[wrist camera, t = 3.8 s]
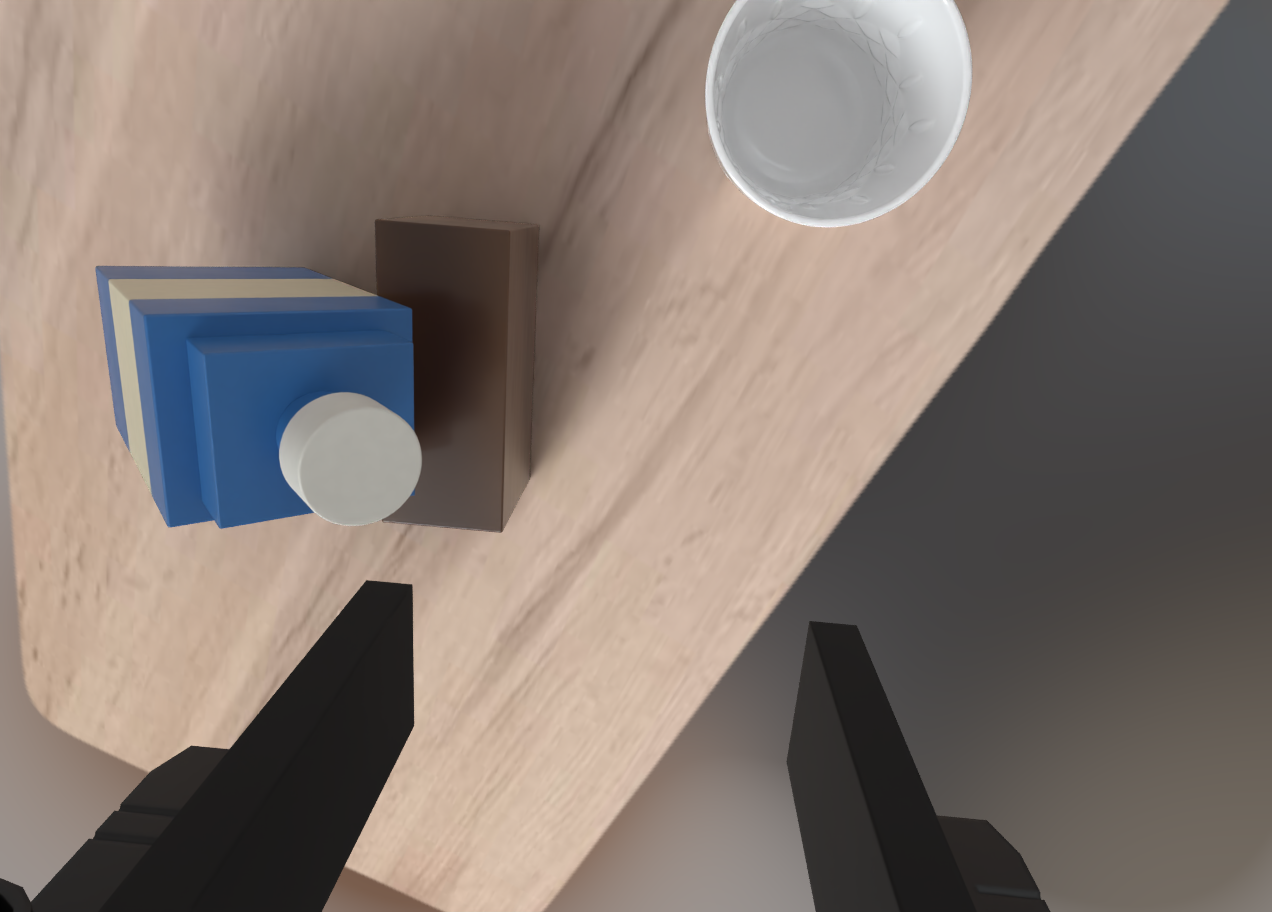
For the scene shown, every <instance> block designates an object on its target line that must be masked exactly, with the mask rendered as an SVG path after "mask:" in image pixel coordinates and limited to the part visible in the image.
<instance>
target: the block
mask: <svg viewBox="0 0 1272 912" xmlns="http://www.w3.org/2000/svg"><path fill="white" fill-rule="evenodd" d="M375 242H376V282H377V296H380V297H383V298H385V299H388V300H391V301H393V302H396V303H398V304H401V305H404V306H406V307H409V308H411V309H412V343H413V365H414V432H415V434H416V436H417V438H418V441H419V443H420V447H421V453H422V467H421V472H420V476H419V479H418V482H417V484H416V487H415V495H414V496H410V497H409V498H408V499H407V500H406V502H405V503H404V504H403V505H402V506H401V507H400V508H399V509H397V510H396V511H395V512H394V513H392V514H391V515H389V516H388V517H386V518H384V519H382V521H383V522H389V523H400V524H411V525H422V526H434V527H445V528H456V529H467V530H478V531H489V532H500V533H501V532H502V531H503V530H504V528H505V526H506V524H507V522H508V520H509V518H510V516H511V514H512V512H513V510H514V508H515V507H516V505H517V503H518V501H519V499H520V497H521V495H522V493H523V491H524V489H525V487H526V485H527V484H528V482H529V480H530V460H531V433H532V406H533V379H534V352H535V325H536V298H537V271H538V244H539V225H538V224H527V223H515V222H502V221H490V220H478V219H465V218H453V217H441V216H429V215H428V216H415V217H401V218H388V219H377V220H375Z"/></svg>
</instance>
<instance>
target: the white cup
mask: <svg viewBox="0 0 1272 912" xmlns="http://www.w3.org/2000/svg"><path fill="white" fill-rule="evenodd" d="M971 86H972V57H971V48H970V43H969V38H968V34H967V30H966V27H965V24H964V21H963V18H962V16H961V14H960V11H959V9H958V7H957V5H956V3H955V1H954V0H736V2H735V3H734V4H733V6H732V7H731V9H730V11H729V12H728V14H727V16H726V17H725V19H724V21H723V23H722V25H721V27H720V29H719V32H718V34H717V37H716V39H715V42H714V45H713V48H712V51H711V55H710V59H709V63H708V69H707V75H706V86H705V104H706V119H707V128H708V134H709V138H710V142H711V145H712V148H713V151H714V154H715V156H716V158H717V161H718V163H719V165H720V166H721V168H722V170H723V171H724V173H725V175H726V176H727V178H728V179H729V180H730V181H731V182H732V184H733V185H734V186H735V187H736V188H737V189H738V190H739V191H740V192H741V193H742V194H744V195H745V196H746V197H747V198H749V199H750V200H751V201H753V202H754V203H756V204H757V205H759V206H760V207H762V208H763V209H765V210H767V211H768V212H770V213H772V214H774V215H776V216H778V217H780V218H782V219H785V220H788V221H791V222H794V223H797V224H802V225H807V226H814V227H842V226H849V225H854V224H858V223H862V222H865V221H868V220H871V219H874V218H877V217H879V216H881V215H883V214H885V213H887V212H889V211H891V210H893V209H895V208H896V207H898V206H900V205H901V204H903V203H904V202H906V201H907V200H908V199H910V198H911V197H912V196H913V195H915V194H916V193H917V192H918V191H919V190H920V189H921V188H922V187H924V186H925V185H926V184H927V182H928V181H929V180H930V179H931V178H932V177H933V176H934V175H935V173H936V172H937V171H938V170H939V168H940V167H941V166H942V164H943V163H944V161H945V160H946V158H947V157H948V155H949V153H950V152H951V150H952V148H953V146H954V144H955V142H956V140H957V138H958V136H959V133H960V131H961V128H962V126H963V123H964V120H965V117H966V113H967V109H968V105H969V100H970V94H971Z"/></svg>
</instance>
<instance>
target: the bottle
mask: <svg viewBox="0 0 1272 912" xmlns="http://www.w3.org/2000/svg"><path fill="white" fill-rule="evenodd" d="M95 269H96V276H97V284H98V291H99V299H100V307H101V314H102V322H103V329H104V337H105V345H106V352H107V360H108V367H109V375H110V383H111V390H112V398H113V405H114V413H115V421H116V426H117V428H118V430H119V432H120V434H121V436H122V438H123V440H124V442H125V444H126V446H127V447H128V449H129V451H130V453H131V455H132V457H133V459H134V461H135V463H136V465H137V467H138V469H139V471H140V473H141V475H142V477H143V479H144V481H145V483H146V485H147V487H148V489H149V491H150V493H151V494H152V497H153V499H154V501H155V503H156V504H157V506H158V508H159V510H160V512H161V514H162V516H163V518H164V520H165V522H166V524H167V526H168V527H176V526H182V525H188V524H194V523H200V522H206V521H212V520H215V522H216V523H217V525H218V527H219V528H221V529H222V528H228V527H234V526H239V525H245V524H251V523H257V522H263V521H268V520H274V519H280V518H286V517H292V516H297V515H303V514H309V513H316V514H317V515H318V516H320V517H321V518H323V519H325V520H327V521H329V522H332V523H335V524H338V525H344V526H361V525H367V524H371V523H374V522H377V521H379V520H382V519H384V518H386V517H388V516H389V515H391V514H392V513H394V512H395V511H396V510H397V509H399V508H400V507H401V506H402V505H403V504H404V503H405V502H406V500H407V499H408V498H409V497H410V496H414V495H415V487H416V484H417V482H418V479H419V476H420V472H421V467H422V453H421V447H420V443H419V441H418V438H417V436H416V434H415V432H414V365H413V343H412V309H411V308H409V307H406V306H404V305H401V304H398V303H396V302H393V301H391V300H388V299H385V298H383V297H380V296H377V295H375V294H372V293H370V292H367V291H364V290H362V289H359V288H356V287H354V286H351V285H349V284H346V283H343V282H341V281H338V280H335V279H333V278H330V277H328V276H325V275H322V274H320V273H317V272H315V271H312V270H309V269H307V268H301V267H167V266H96V268H95Z"/></svg>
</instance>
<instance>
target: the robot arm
mask: <svg viewBox="0 0 1272 912" xmlns="http://www.w3.org/2000/svg"><path fill="white" fill-rule="evenodd" d="M413 727H414V673H413V590H412V584H401V583H390V582H379V581H368V580H366V582H365V583H364V584H363V585H362V586H361V588H360V589H359V590H358V591H357V593H356V594H355V595H354V596H353V598H352V599H351V600H350V601H349V603H348V604H347V605H346V606H345V607H344V609H343V610H342V611H341V612H340V614H339V615H338V616H337V617H336V619H335V620H334V621H333V622H332V623H331V625H330V626H329V627H328V628H327V630H326V631H325V632H324V633H323V635H322V636H321V637H320V638H319V640H318V641H317V642H316V643H315V644H314V646H313V647H312V648H311V649H310V651H309V652H308V653H307V654H306V656H305V657H304V658H303V659H302V661H301V662H300V663H299V664H298V665H297V667H296V668H295V669H294V670H293V672H292V673H291V674H290V675H289V677H288V678H287V679H286V680H285V682H284V683H283V684H282V685H281V686H280V688H279V689H278V690H277V691H276V693H275V694H274V695H273V696H272V698H271V699H270V700H269V701H268V702H267V704H266V705H265V706H264V707H263V709H262V710H261V711H260V712H259V714H258V715H257V716H256V717H255V719H254V720H253V721H252V722H251V723H250V725H249V726H248V727H247V728H246V730H245V731H244V732H243V733H242V735H241V736H240V737H239V738H238V740H237V741H236V742H235V743H234V744H233V746H232V747H231V748H230V749H220V748H210V747H199V746H190V747H189V748H187V749H186V750H184V751H182V752H181V753H179V754H178V755H176V756H174V757H173V758H171V759H170V760H168V761H167V762H165V763H163V764H162V765H160V766H159V767H157V768H155V769H154V770H152V771H151V772H150V773H149V774H148V775H147V776H146V777H145V778H144V779H143V780H142V782H141V783H140V784H139V785H138V786H137V787H136V788H135V789H134V790H133V791H132V792H131V794H130V795H129V796H128V797H127V798H126V799H125V800H124V801H123V802H122V803H121V806H120V809H119V811H114V812H113V813H112V814H111V815H110V816H109V817H108V819H107V820H106V821H105V822H104V823H103V824H102V825H101V826H100V827H99V828H98V829H97V831H96V832H95V836H94V838H93V839H88V840H87V842H86V843H85V844H84V845H83V846H82V847H81V848H80V849H79V850H78V851H77V852H76V854H75V855H74V856H73V857H72V858H71V859H70V860H69V861H68V862H67V863H66V864H65V865H64V867H63V868H62V869H61V870H60V871H59V872H58V873H57V874H56V875H55V876H54V877H53V879H52V880H51V881H50V882H49V883H48V884H47V885H46V886H45V887H44V888H43V890H42V891H41V892H40V893H39V894H38V895H37V896H36V897H35V898H34V899H33V900H32V901H31V902H30V900H29V898H28V897H27V895H26V893H25V891H24V889H23V887H20V886H18V885H16V884H13V883H11V882H9V881H6V880H4V879H1V878H0V912H322V910H323V908H324V906H325V904H326V902H327V900H328V898H329V896H330V894H331V892H332V890H333V888H334V886H335V884H336V882H337V880H338V878H339V876H340V874H341V872H342V870H343V868H344V866H345V864H346V862H347V860H348V858H349V856H350V854H351V852H352V850H353V848H354V846H355V844H356V842H357V840H358V838H359V836H360V834H361V832H362V830H363V828H364V826H365V824H366V822H367V820H368V817H369V815H370V813H371V811H372V809H373V807H374V805H375V803H376V801H377V799H378V797H379V795H380V793H381V791H382V789H383V787H384V785H385V783H386V781H387V779H388V777H389V775H390V773H391V771H392V769H393V767H394V765H395V763H396V761H397V759H398V757H399V755H400V753H401V751H402V749H403V747H404V745H405V743H406V741H407V739H408V737H409V735H410V733H411V731H412V729H413ZM787 766H788V771H789V776H790V781H791V786H792V792H793V797H794V802H795V806H796V812H797V817H798V822H799V827H800V832H801V837H802V842H803V848H804V853H805V858H806V863H807V869H808V874H809V879H810V884H811V889H812V894H813V899H814V905H815V910H816V912H1050V910H1049V908H1048V906H1047V904H1046V902H1045V900H1041V898H1040V891H1039V889H1038V887H1037V885H1036V883H1035V881H1034V879H1033V877H1032V876H1031V874H1030V872H1029V870H1028V868H1027V866H1026V864H1025V862H1024V860H1023V858H1022V856H1021V855H1020V853H1018V852H1017V850H1016V849H1014V847H1013V846H1012V845H1011V844H1010V843H1009V842H1008V841H1007V840H1006V839H1004V837H1003V836H1002V835H1001V834H1000V833H999V832H998V831H997V830H996V829H995V828H994V827H993V826H992V825H991V824H990V823H989V822H988V821H987V820H976V819H967V818H957V817H946V816H936V813H935V811H934V808H933V806H932V804H931V801H930V799H929V797H928V794H927V792H926V790H925V787H924V785H923V782H922V780H921V778H920V775H919V773H918V770H917V768H916V766H915V763H914V761H913V758H912V756H911V754H910V751H909V749H908V747H907V745H906V742H905V739H904V737H903V735H902V732H901V730H900V728H899V725H898V723H897V720H896V718H895V716H894V714H893V711H892V708H891V706H890V704H889V701H888V699H887V697H886V694H885V692H884V690H883V687H882V685H881V682H880V680H879V678H878V675H877V673H876V670H875V668H874V666H873V664H872V661H871V658H870V656H869V654H868V652H867V649H866V647H865V644H864V642H863V640H862V637H861V635H860V632H859V630H858V628H857V626H856V625H846V624H833V623H823V622H813V621H810V622H809V627H808V634H807V640H806V646H805V652H804V658H803V665H802V670H801V677H800V683H799V689H798V695H797V702H796V707H795V713H794V720H793V726H792V732H791V738H790V744H789V750H788V757H787Z"/></svg>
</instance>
